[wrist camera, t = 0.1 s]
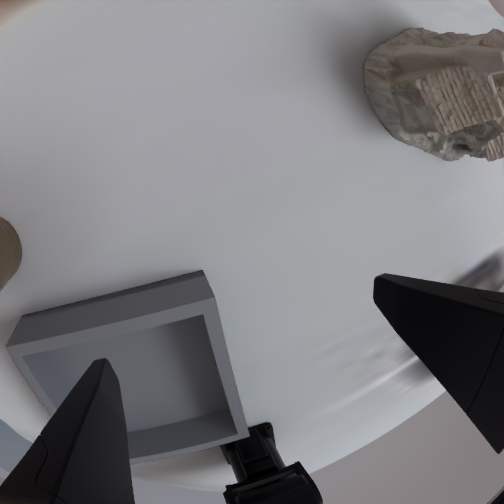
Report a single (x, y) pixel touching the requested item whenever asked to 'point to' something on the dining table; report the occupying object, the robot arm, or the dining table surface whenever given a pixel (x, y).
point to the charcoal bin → (142, 363)
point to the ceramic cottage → (440, 91)
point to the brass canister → (8, 252)
